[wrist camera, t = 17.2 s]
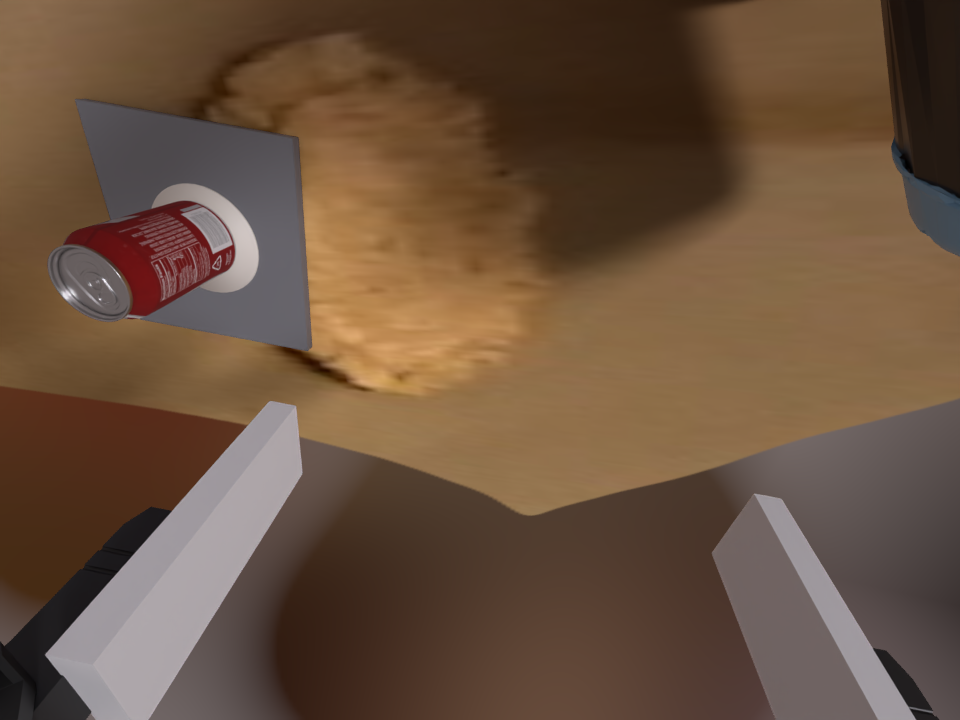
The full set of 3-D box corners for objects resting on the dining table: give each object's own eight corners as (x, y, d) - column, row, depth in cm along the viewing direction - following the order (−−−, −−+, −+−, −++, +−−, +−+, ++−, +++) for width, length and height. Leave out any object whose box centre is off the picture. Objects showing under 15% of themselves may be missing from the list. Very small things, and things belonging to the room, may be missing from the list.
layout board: (85, 99, 36) (72, 99, 35) (298, 137, 35) (291, 138, 34) (147, 315, 46) (138, 320, 45) (312, 346, 46) (306, 351, 45)
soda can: (214, 189, 37) (93, 224, 27) (254, 264, 40) (158, 320, 30) (152, 208, 39) (15, 248, 29) (195, 279, 42) (85, 337, 32)
